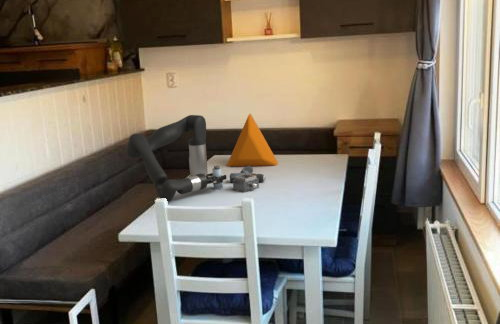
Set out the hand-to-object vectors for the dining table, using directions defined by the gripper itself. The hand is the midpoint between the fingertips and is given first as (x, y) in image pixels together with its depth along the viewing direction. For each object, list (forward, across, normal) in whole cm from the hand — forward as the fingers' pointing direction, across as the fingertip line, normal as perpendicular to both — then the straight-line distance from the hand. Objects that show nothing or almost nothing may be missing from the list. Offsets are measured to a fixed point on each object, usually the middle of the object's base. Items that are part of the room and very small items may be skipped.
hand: (220, 175), depth 280 cm
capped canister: (-2, 0, +6) cm, 6 cm away
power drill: (+21, -1, +7) cm, 22 cm away
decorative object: (+44, +21, +6) cm, 49 cm away
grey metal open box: (+5, -15, +6) cm, 16 cm away
